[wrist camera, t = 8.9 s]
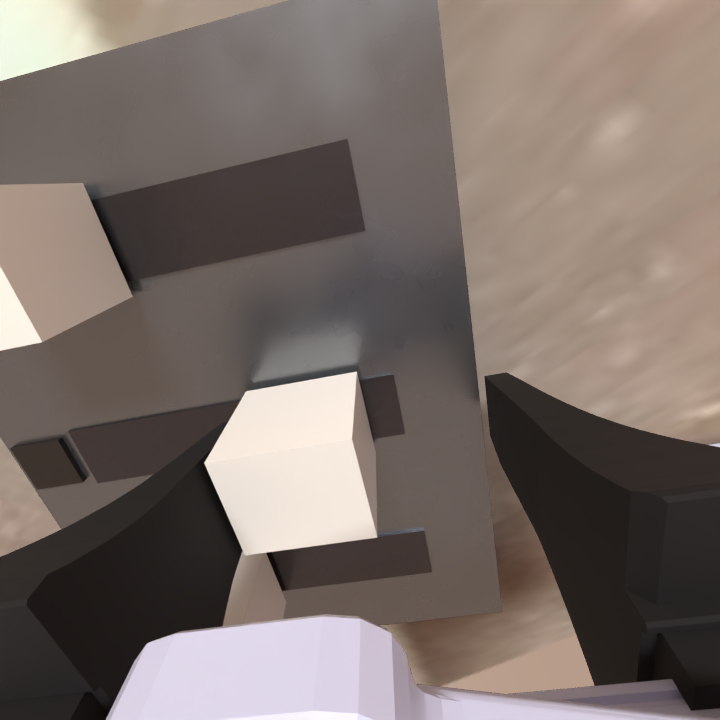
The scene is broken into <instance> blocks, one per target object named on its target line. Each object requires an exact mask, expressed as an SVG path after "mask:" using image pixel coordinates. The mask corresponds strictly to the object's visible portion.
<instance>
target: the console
mask: <svg viewBox="0 0 720 720" xmlns="http://www.w3.org/2000/svg"><path fill="white" fill-rule="evenodd" d="M60 183H83V184H84V187H85V189H86V191H87V193H88V196H89V198H90V200H91V203H92V205H93V207H94V209H95V212H96V214H97V216H98V219H99V221H100V223H101V225H102V228H103V230H104V232H105V234H106V237H107V239H108V241H109V244H110V246H111V248H112V250H113V253H114V255H115V257H116V259H117V262H118V264H119V266H120V269H121V271H122V273H123V275H124V278H125V280H126V282H127V285H128V287H129V289H130V291H131V294H132V296H133V297H131V298H129V299H127V300H125V301H123V302H121V303H119V304H117V305H115V306H113V307H111V308H109V309H107V310H105V311H103V312H101V313H99V314H97V315H95V316H93V317H91V318H89V319H87V320H85V321H83V322H81V323H79V324H77V325H75V326H74V327H72V328H70V329H68V330H66V331H64V332H62V333H60V334H58V335H56V336H54V337H52V338H50V339H48V340H46V341H44V342H41V343H36V344H31V345H26V346H21V347H16V348H11V349H6V350H1V351H0V437H1V439H2V440H3V442H4V443H5V445H6V446H7V448H8V449H9V451H10V452H11V454H12V455H13V457H14V458H15V460H16V461H17V463H18V464H19V466H20V467H21V469H22V470H23V472H24V473H25V475H26V476H27V478H28V479H29V481H30V482H31V484H32V485H33V487H34V488H35V490H36V491H37V493H38V494H39V496H40V498H41V499H42V501H43V502H44V504H45V505H46V507H47V508H48V510H49V511H50V513H51V514H52V516H53V517H54V519H55V520H56V522H57V523H58V525H59V526H60V528H61V529H63V528H65V527H67V526H69V525H71V524H73V523H75V522H77V521H79V520H80V519H82V518H84V517H86V516H88V515H90V514H91V513H93V512H95V511H97V510H99V509H101V508H103V507H104V506H106V505H108V504H109V503H111V502H113V501H114V500H116V499H118V498H119V497H121V496H123V495H124V494H126V493H127V492H129V491H131V490H132V489H134V488H135V487H137V486H138V485H140V484H141V483H143V482H144V481H145V480H147V479H148V478H150V477H151V476H152V475H154V474H155V473H157V472H158V471H159V470H161V469H162V468H163V467H165V466H166V465H167V464H169V463H170V462H172V461H173V460H174V459H176V458H177V457H178V456H179V455H181V454H182V453H183V452H185V451H186V450H187V449H188V448H190V447H191V446H192V445H194V444H195V443H196V442H197V441H199V440H200V439H201V438H202V437H204V436H205V435H206V434H208V433H209V432H210V431H212V430H213V429H214V428H216V427H217V426H219V425H220V424H222V423H223V422H225V421H228V420H230V418H231V416H232V415H233V413H234V411H235V410H236V408H237V406H238V404H239V403H240V401H241V399H242V397H243V396H244V394H245V392H246V391H251V390H257V389H262V388H268V387H273V386H279V385H285V384H290V383H296V382H301V381H307V380H312V379H318V378H324V377H329V376H335V375H340V374H346V373H352V372H357V374H358V378H359V383H360V387H361V391H362V395H363V400H364V404H365V408H366V413H367V417H368V421H369V425H370V430H371V434H372V438H373V442H374V447H375V451H376V486H377V538H370V539H363V540H356V541H348V542H341V543H333V544H326V545H319V546H311V547H304V548H296V549H289V550H282V551H274V552H267V553H266V554H267V556H268V559H269V561H270V563H271V566H272V568H273V571H274V573H275V576H276V578H277V580H278V583H279V585H280V588H281V590H282V593H283V595H284V597H285V600H286V607H285V612H284V617H283V619H290V618H299V617H307V616H316V615H324V614H328V615H345V616H359V617H361V618H363V619H365V620H368V621H370V622H372V623H374V624H376V625H388V624H397V623H406V622H415V621H424V620H433V619H442V618H450V617H459V616H468V615H477V614H486V613H495V612H502V606H501V596H500V587H499V577H498V568H497V559H496V549H495V540H494V530H493V521H492V511H491V502H490V493H489V483H488V474H487V464H486V455H485V446H484V436H483V427H482V417H481V408H480V399H479V389H478V380H477V370H476V361H475V351H474V342H473V333H472V323H471V314H470V304H469V295H468V286H467V276H466V267H465V257H464V248H463V239H462V229H461V220H460V210H459V201H458V191H457V182H456V173H455V163H454V154H453V144H452V135H451V126H450V116H449V107H448V97H447V88H446V79H445V69H444V60H443V50H442V41H441V31H440V22H439V13H438V3H437V0H289V1H285V2H282V3H278V4H275V5H271V6H268V7H264V8H260V9H257V10H253V11H250V12H246V13H243V14H239V15H235V16H232V17H228V18H225V19H221V20H218V21H214V22H210V23H207V24H203V25H200V26H196V27H193V28H189V29H185V30H182V31H178V32H175V33H171V34H168V35H164V36H160V37H157V38H153V39H150V40H146V41H143V42H139V43H135V44H132V45H128V46H125V47H121V48H118V49H114V50H110V51H107V52H103V53H100V54H96V55H92V56H89V57H85V58H82V59H78V60H75V61H71V62H67V63H64V64H60V65H57V66H53V67H50V68H46V69H42V70H39V71H35V72H32V73H28V74H25V75H21V76H17V77H14V78H10V79H7V80H3V81H0V185H11V184H60Z"/></svg>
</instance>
